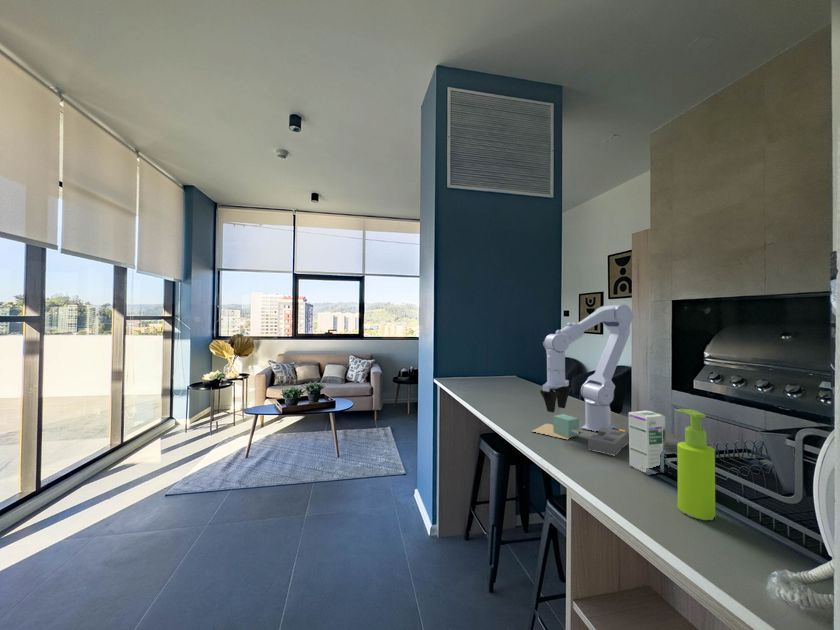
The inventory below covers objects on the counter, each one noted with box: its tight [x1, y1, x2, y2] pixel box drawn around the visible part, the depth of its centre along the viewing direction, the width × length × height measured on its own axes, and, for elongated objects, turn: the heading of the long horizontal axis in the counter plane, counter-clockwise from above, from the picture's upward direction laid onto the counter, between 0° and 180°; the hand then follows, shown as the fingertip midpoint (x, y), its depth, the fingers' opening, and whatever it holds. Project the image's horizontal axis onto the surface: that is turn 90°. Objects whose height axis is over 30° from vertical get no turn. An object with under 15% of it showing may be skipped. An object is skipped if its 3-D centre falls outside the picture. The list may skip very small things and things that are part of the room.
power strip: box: [587, 428, 629, 455], centre depth 106 cm, size 14×7×4 cm, turn 137°
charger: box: [552, 413, 584, 438], centre depth 116 cm, size 5×8×6 cm, turn 29°
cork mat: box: [531, 422, 572, 440], centre depth 120 cm, size 12×12×1 cm
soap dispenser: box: [676, 408, 716, 519], centre depth 71 cm, size 6×7×20 cm
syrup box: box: [628, 410, 667, 472], centre depth 90 cm, size 6×6×14 cm
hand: (556, 409), depth 120 cm, fingers open, 7 cm apart
